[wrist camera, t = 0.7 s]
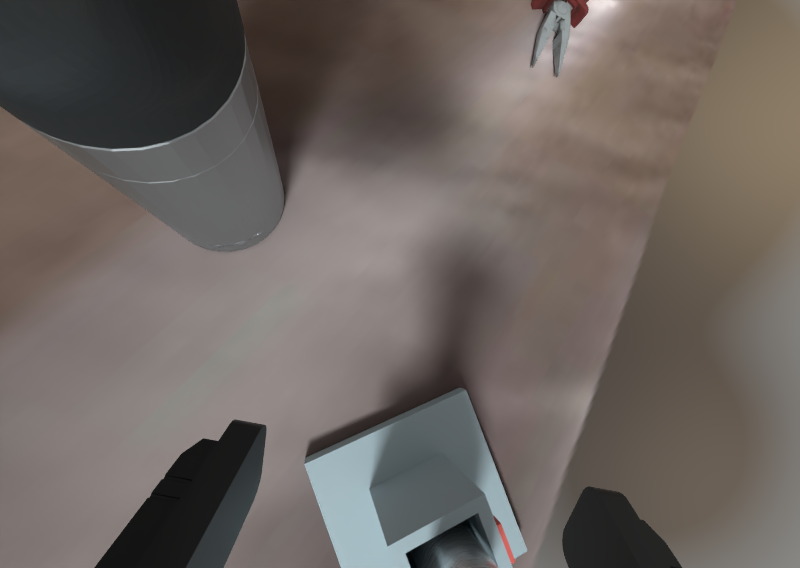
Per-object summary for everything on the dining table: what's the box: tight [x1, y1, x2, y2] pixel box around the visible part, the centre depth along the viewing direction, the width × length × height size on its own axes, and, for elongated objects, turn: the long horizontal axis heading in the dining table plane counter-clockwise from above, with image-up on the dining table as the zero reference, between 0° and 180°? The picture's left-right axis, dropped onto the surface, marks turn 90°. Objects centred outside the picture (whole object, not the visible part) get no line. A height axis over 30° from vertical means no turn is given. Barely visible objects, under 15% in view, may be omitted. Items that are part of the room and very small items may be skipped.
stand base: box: [305, 387, 527, 568], centre depth 26 cm, size 14×14×10 cm
